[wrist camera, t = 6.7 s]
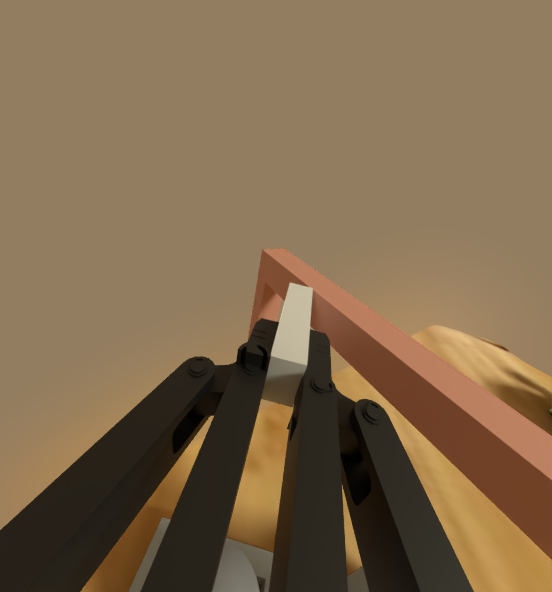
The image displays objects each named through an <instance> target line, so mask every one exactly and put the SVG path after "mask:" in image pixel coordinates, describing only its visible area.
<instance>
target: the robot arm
mask: <svg viewBox="0 0 552 592" xmlns="http://www.w3.org/2000/svg"><path fill="white" fill-rule="evenodd" d="M312 294H313V288H311V287H306V286H302V285H298V284H294V283H290V284H289V288H288V291H287V295H286V299H285V303H284V307H283V310H282V314H281V318H280V322H276V321H272V320H268V319H264V318H261V319H260V320H258V321H257V322H256V323H255V325H254V328H253V330H252V333H251V336H250V338H249V340H248V342H247V343H244V344H243V345H241V346H240V347H239V349H238V354H237V361H236V362H235V363H233V364H229V365H214V363H213V361H211V360H210V359H209V358H206V357H193V358H190V359H188V360H186V361H185V362H184V363H183V364H181V365H180V366H179V367H178V368H177V369H176V370H175V371H174V372H173V373H172V374H170V375H169V377H167V378H166V379H165V380H164V381H163V382H162V383H161V384H160V385H158V386H157V387H156V388H155V389H154V390H153V391H152V392H151V393H150V394H149V395H148V396H147V397H145V398H144V399H143V400H142V401H141V402H140V403H139V404H138V405H137V406H136V407H134V408H133V409H132V410H131V411H130V412H129V413H128V414H127V415H126V416H125V417H124V418H122V419H121V420H120V421H119V422H118V423H117V424H116V425H115V426H114V427H113V428H112V429H110V430H109V431H108V432H107V433H106V434H105V435H104V436H103V437H102V438H101V439H100V440H98V441H97V442H96V443H95V444H94V445H93V446H92V447H91V448H90V449H89V450H88V451H86V452H85V453H84V454H83V455H82V456H81V457H80V458H79V459H78V460H77V461H76V462H74V463H73V464H72V465H71V466H70V467H69V468H68V469H67V470H66V471H65V472H63V473H62V474H61V475H60V476H59V477H58V478H57V479H56V480H55V481H54V482H52V483H51V484H50V485H49V486H48V487H47V488H46V489H45V490H44V491H43V492H42V493H40V494H39V495H38V496H37V497H36V498H35V499H34V500H33V501H32V502H31V503H30V504H29V505H27V506H26V507H25V508H24V509H23V510H22V511H21V512H20V513H19V514H18V515H16V517H14V518H13V519H12V520H11V521H10V522H9V523H8V524H7V525H6V526H4V527H3V528H2V529H1V530H0V592H80V591H81V590H82V588H83V587H84V586H85V584H86V583H87V582H88V580H89V579H90V578H91V576H92V575H93V574H94V572H95V571H96V569H97V568H98V567H99V565H100V564H101V563H102V561H103V560H104V559H105V557H106V556H107V555H108V553H109V552H110V551H111V549H112V548H113V547H114V545H115V544H116V542H117V541H118V540H119V538H120V537H121V536H122V534H123V533H124V532H125V530H126V529H127V528H128V526H129V525H130V524H131V522H132V521H133V520H134V518H135V517H136V515H137V514H138V513H139V511H140V510H141V509H142V507H143V506H144V505H145V503H146V502H147V501H148V499H149V498H150V497H151V495H152V494H153V493H154V491H155V490H156V488H157V487H158V486H159V484H160V483H161V482H162V480H163V479H164V478H165V476H166V475H167V474H168V472H169V471H170V470H171V468H172V467H173V466H174V464H175V463H176V461H177V460H178V459H179V457H180V456H181V455H182V453H183V452H184V451H185V449H186V448H187V447H188V445H189V444H190V443H191V441H192V440H193V439H194V437H195V436H196V434H197V433H198V432H199V430H200V429H201V427H202V426H203V425H204V424H205V422H206V421H207V420H208V418H209V417H210V416H213V415H214V418H213V420H212V422H211V425H210V427H209V430H208V432H207V434H206V437H205V439H204V441H203V444H202V446H201V449H200V451H199V453H198V456H197V458H196V460H195V463H194V465H193V468H192V470H191V472H190V475H189V477H188V480H187V482H186V484H185V487H184V489H183V491H182V494H181V496H180V499H179V501H178V503H177V506H176V508H175V510H174V513H173V515H172V518H171V520H170V522H169V525H168V527H167V530H166V532H165V534H164V537H163V539H162V541H161V544H160V546H159V549H158V551H157V553H156V556H155V558H154V560H153V563H152V565H151V568H150V570H149V572H148V575H147V577H146V579H145V582H144V584H143V587H142V589H141V591H140V592H212V591H213V587H214V583H215V579H216V575H217V571H218V567H219V563H220V560H221V556H222V552H223V548H224V544H225V540H226V536H227V532H228V528H229V524H230V520H231V516H232V512H233V508H234V504H235V500H236V496H237V492H238V489H239V485H240V481H241V477H242V473H243V469H244V465H245V461H246V457H247V453H248V449H249V445H250V441H251V437H252V433H253V429H254V425H255V421H256V418H257V414H258V410H259V405H260V401H261V399H264V400H268V401H272V402H275V403H279V404H283V405H286V406H290V407H293V404H294V408H293V413H292V416H291V419H290V422H289V424H288V427H287V429H289V435H288V442H287V450H286V458H285V466H284V474H283V482H282V490H281V498H280V506H279V514H278V521H277V529H276V537H275V545H274V553H273V561H272V569H271V577H270V585H269V592H348V585H347V568H346V550H345V533H344V515H343V498H342V485H343V489H344V493H345V497H346V501H347V505H348V509H349V513H350V517H351V521H352V525H353V529H354V533H355V537H356V541H357V545H358V549H359V553H360V557H361V561H362V565H363V569H364V573H365V577H366V581H367V585H368V589H369V592H474V591H473V589H472V587H471V585H470V583H469V581H468V579H467V577H466V575H465V573H464V570H463V568H462V566H461V564H460V562H459V560H458V558H457V556H456V554H455V552H454V550H453V548H452V546H451V544H450V542H449V540H448V538H447V535H446V533H445V531H444V529H443V527H442V525H441V523H440V521H439V519H438V517H437V515H436V513H435V511H434V509H433V507H432V505H431V502H430V500H429V498H428V496H427V494H426V492H425V490H424V488H423V486H422V484H421V482H420V480H419V478H418V476H417V474H416V472H415V470H414V467H413V465H412V463H411V461H410V459H409V457H408V455H407V453H406V451H405V449H404V447H403V445H402V443H401V441H400V439H399V437H398V435H397V432H396V430H395V428H394V426H393V424H392V422H391V420H390V418H389V416H388V414H387V413H386V411H385V410H384V409H383V408H382V407H381V406H380V405H379V404H377V403H376V402H374V401H372V400H368V399H361V400H359V401H358V402H354V401H352V400H351V399H349V398H347V397H345V396H344V395H342V394H341V393H340V392H339V391H338V390H337V389H336V387H335V384H334V383H333V381H332V378H331V357H330V340H329V338H328V336H327V335H326V333H322V332H318V331H314V330H310V321H311V307H312Z"/></svg>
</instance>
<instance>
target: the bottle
mask: <svg viewBox="0 0 552 592" xmlns="http://www.w3.org/2000/svg"><path fill="white" fill-rule="evenodd" d="M212 592H260V591H259V586H258V581H257V578H256V575H255V572H254V570H253V567H252V565H251V563H250V562H249V560H248V558H247V557H246V556H245V554H244V553H243V552H242V551H241V550H240V549H239V548H237V547H236V546H234V545H232V544H230V543H227V542H225V544H224V548H223V552H222V556H221V560H220V563H219V567H218V571H217V575H216V579H215V583H214V587H213V591H212Z"/></svg>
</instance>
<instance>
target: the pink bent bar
mask: <svg viewBox="0 0 552 592" xmlns="http://www.w3.org/2000/svg"><path fill="white" fill-rule="evenodd" d="M290 283H294V284H298V285H302V286H306V287H311V288H313V294H312V307H311V321H310V326H311V327H312V328H313V329H314V330H315V331H318V332H322V333H326V335H327V336H328V338H329V340H330V345H331V346H332V347H333V348H334V349H335V350H336V351H337V352H338V353H339V354H340V355H341V356H342V357H343V358H344V359H345V360H346V361H347V362H348V363H349V364H350V365H351V366H352V367H353V368H354V369H355V370H356V371H357V372H358V373H360V374H361V375H362V376H363V377H364V378H365V379H366V380H367V381H368V382H369V383H370V384H371V385H372V386H373V387H374V388H375V389H376V390H377V391H378V392H379V393H380V394H381V395H382V396H383V397H384V398H385V399H386V400H387V401H388V402H389V403H391V404H392V405H393V406H394V407H395V408H396V409H397V410H398V411H399V412H400V413H401V414H402V415H403V416H404V417H405V418H406V419H407V420H408V421H409V422H410V423H411V424H412V425H413V426H414V427H415V428H416V429H417V430H418V431H419V432H420V433H422V434H423V435H424V436H425V437H426V438H427V439H428V440H429V441H430V442H431V443H432V444H433V445H434V446H435V447H436V448H437V449H438V450H439V451H440V452H441V453H442V454H443V455H444V456H445V457H446V458H447V459H448V460H449V461H450V462H451V463H452V464H454V465H455V466H456V467H457V468H458V469H459V470H460V471H461V472H462V473H463V474H464V475H465V476H466V477H467V478H468V479H469V480H470V481H471V482H472V483H473V484H474V485H475V486H476V487H477V488H478V489H479V490H480V491H481V492H482V493H483V494H485V495H486V496H487V497H488V498H489V499H490V500H491V501H492V502H493V503H494V504H495V505H496V506H497V507H498V508H499V509H500V510H501V511H502V512H503V513H504V514H505V515H506V516H507V517H508V518H509V519H510V520H511V521H512V522H513V523H514V524H515V525H517V526H518V527H519V528H520V529H521V530H522V531H523V532H524V533H525V534H526V535H527V536H528V537H529V538H530V539H531V540H532V541H533V542H534V543H535V544H536V545H537V546H538V547H539V548H540V549H541V550H542V551H543V552H544V553H545V554H546V555H548V556H549V557H550V558H551V559H552V436H551V435H550V434H548V433H547V432H545V431H544V430H542V429H541V428H540V427H538V426H537V425H535V424H534V423H532V422H531V421H530V420H528V419H527V418H525V417H524V416H522V415H521V414H520V413H518V412H517V411H515V410H514V409H513V408H511V407H510V406H508V405H507V404H505V403H504V402H503V401H501V400H500V399H498V398H497V397H495V396H494V395H493V394H491V393H490V392H488V391H487V390H485V389H484V388H483V387H481V386H480V385H478V384H477V383H475V382H474V381H473V380H471V379H470V378H468V377H467V376H466V375H464V374H463V373H461V372H460V371H458V370H457V369H456V368H454V367H453V366H451V365H450V364H448V363H447V362H446V361H444V360H443V359H441V358H440V357H438V356H437V355H436V354H434V353H433V352H431V351H430V350H428V349H427V348H426V347H424V346H423V345H421V344H420V343H419V342H417V341H416V340H414V339H413V338H411V337H410V336H408V335H407V334H406V333H404V332H403V331H401V330H400V329H398V328H397V327H396V326H394V325H393V324H391V323H390V322H389V321H387V320H386V319H384V318H383V317H381V316H380V315H379V314H377V313H376V312H374V311H373V310H371V309H370V308H369V307H367V306H366V305H364V304H363V303H361V302H360V301H359V300H357V299H356V298H354V297H353V296H351V295H350V294H349V293H347V292H346V291H344V290H343V289H342V288H340V287H339V286H337V285H336V284H334V283H333V282H332V281H330V280H329V279H327V278H326V277H324V276H323V275H322V274H320V273H319V272H317V271H316V270H315V269H313V268H312V267H310V266H309V265H307V264H306V263H305V262H303V261H302V260H300V259H299V258H297V257H296V256H295V255H293V254H292V253H290V252H289V251H287V250H286V249H284V248H279V249H262V254H261V261H260V268H259V273H258V280H257V286H256V292H255V299H254V305H253V311H252V318H251V324H250V330H249V337H248V340H249V338H250V336H251V333H252V330H253V328H254V325H255V323H256V322H257V321H258V320H260V319H261V318H264V319H268V320H272V321H276V322H277V318H278V313H279V309H280V304H281V300H282V299H283V300H284V301H285V299H286V295H287V291H288V288H289V284H290Z"/></svg>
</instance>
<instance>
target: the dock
mask: <svg viewBox="0 0 552 592" xmlns="http://www.w3.org/2000/svg"><path fill="white" fill-rule="evenodd" d="M169 522H170V519H167V518H164V517H162V519H161V521H160V523H159V526H158V528H157V530H156V532H155V534H154V537H153V539H152V541H151V543H150V545H149V547H148V550H147V552H146V554H145V556H144V558H143V561H142V563H141V565H140V567H139V569H138V572H137V574H136V576H135V578H134V580H133V582H132V585H131V587H130V589H129V591H128V592H140V591H141V589H142V587H143V584H144V582H145V579H146V577H147V575H148V572H149V570H150V568H151V565H152V563H153V560H154V558H155V556H156V553H157V551H158V549H159V546H160V544H161V541H162V539H163V537H164V534H165V532H166V530H167V527H168V525H169ZM225 542H227V543H230V544H232V545H234V546H236V547H237V548H239V549H240V550H241V551H242V552H243V553H244V554H245V556H246V557H247V558H248V560H249V562H250V563H251V565H252V567H253V570H254V572H255V575H256V578H257V581H258V585H261V591H260V592H269V585H270V577H271V569H272V561H273V552H269V551H266V550H263V549H260V548H257V547H254V546H251V545H248V544H245V543H241V542H238V541H235V540H232V539H229V538H226V540H225ZM347 585H348V592H369V589H368V585H367V581H366V577H365V573H364V569H363V566H362V567H360V568H359V569H357V570H356V571H354V572H353V573H352V574H350V575H349V576H347Z"/></svg>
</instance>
